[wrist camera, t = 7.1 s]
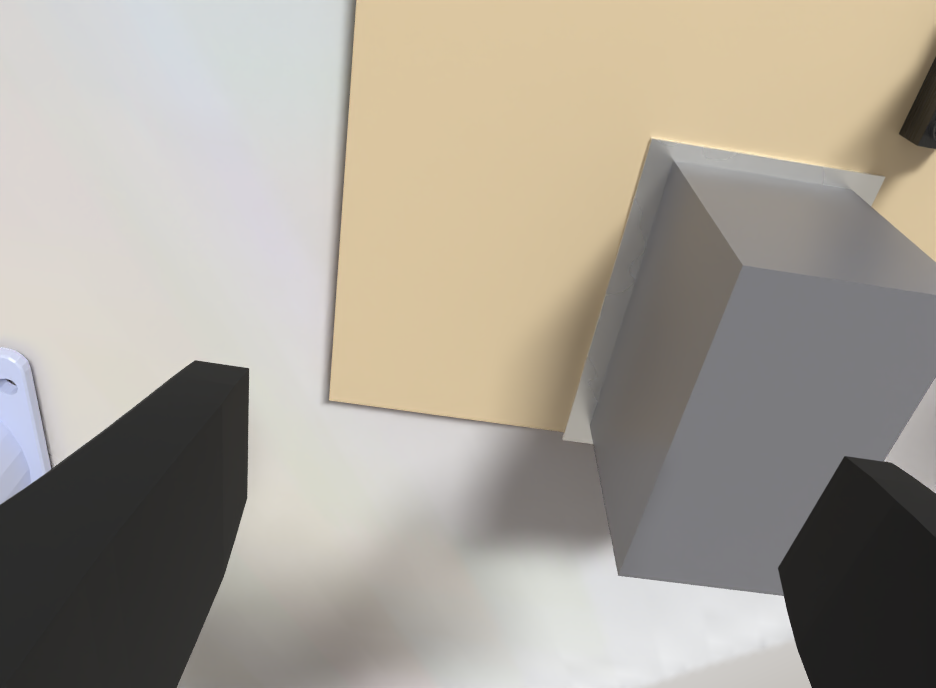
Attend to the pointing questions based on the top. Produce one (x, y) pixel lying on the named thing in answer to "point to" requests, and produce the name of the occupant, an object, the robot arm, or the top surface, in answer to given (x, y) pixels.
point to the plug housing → (754, 371)
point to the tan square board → (576, 168)
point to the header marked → (639, 232)
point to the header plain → (923, 114)
